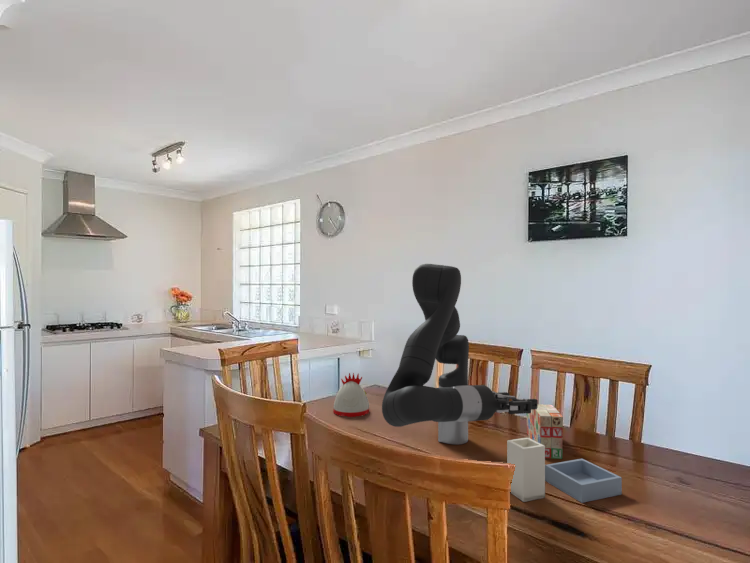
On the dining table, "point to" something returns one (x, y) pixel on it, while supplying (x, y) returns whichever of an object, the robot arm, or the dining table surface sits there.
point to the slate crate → (583, 480)
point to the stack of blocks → (546, 429)
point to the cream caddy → (527, 468)
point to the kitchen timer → (351, 399)
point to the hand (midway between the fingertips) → (521, 400)
